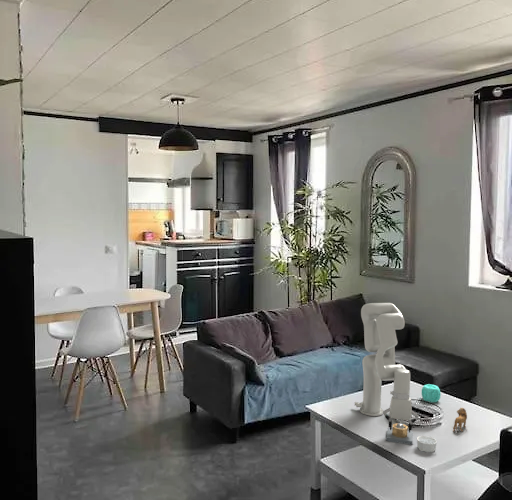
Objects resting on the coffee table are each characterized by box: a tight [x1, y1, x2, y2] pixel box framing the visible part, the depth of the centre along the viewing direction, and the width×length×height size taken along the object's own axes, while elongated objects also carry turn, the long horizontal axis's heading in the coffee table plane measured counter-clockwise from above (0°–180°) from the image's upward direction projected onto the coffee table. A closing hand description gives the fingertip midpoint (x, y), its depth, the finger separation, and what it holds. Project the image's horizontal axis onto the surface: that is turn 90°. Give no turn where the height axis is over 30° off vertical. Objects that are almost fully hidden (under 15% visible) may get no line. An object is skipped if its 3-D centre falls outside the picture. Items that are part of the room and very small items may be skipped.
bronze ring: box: [392, 422, 409, 438], centre depth 258 cm, size 7×7×4 cm
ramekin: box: [416, 435, 438, 453], centre depth 246 cm, size 9×9×4 cm
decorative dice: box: [421, 383, 442, 403], centre depth 308 cm, size 8×8×8 cm
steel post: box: [396, 422, 404, 429], centre depth 257 cm, size 4×4×5 cm
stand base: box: [385, 427, 414, 445], centre depth 258 cm, size 12×12×2 cm
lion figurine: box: [452, 407, 468, 434], centre depth 269 cm, size 15×5×9 cm, turn 151°
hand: (400, 429), depth 258 cm, fingers open, 8 cm apart
